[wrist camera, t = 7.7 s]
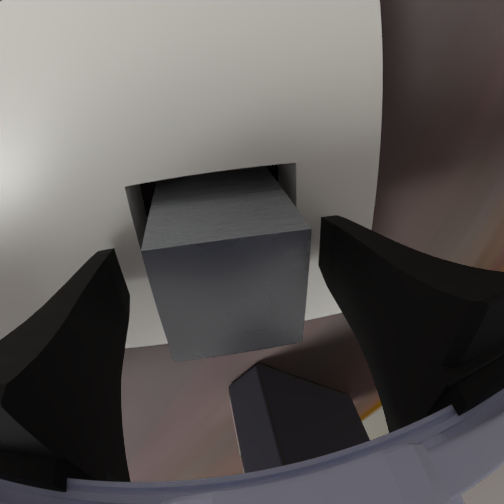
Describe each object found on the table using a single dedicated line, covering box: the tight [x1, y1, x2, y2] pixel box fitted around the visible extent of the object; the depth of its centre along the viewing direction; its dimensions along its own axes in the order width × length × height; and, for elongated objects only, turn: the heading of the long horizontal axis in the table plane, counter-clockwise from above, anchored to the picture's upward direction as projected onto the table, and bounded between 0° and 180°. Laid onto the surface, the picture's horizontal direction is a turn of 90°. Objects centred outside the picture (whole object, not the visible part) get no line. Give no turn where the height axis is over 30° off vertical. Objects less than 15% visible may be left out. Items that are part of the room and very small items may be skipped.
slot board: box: [0, 0, 383, 348], centre depth 10 cm, size 18×15×2 cm
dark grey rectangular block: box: [229, 363, 370, 473], centre depth 16 cm, size 11×4×15 cm, turn 48°
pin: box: [141, 166, 312, 362], centre depth 11 cm, size 4×4×6 cm
